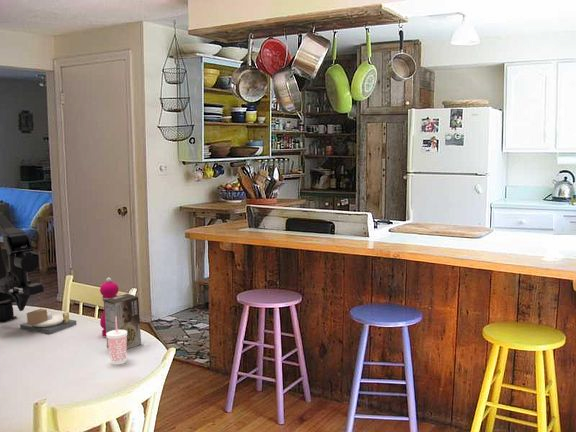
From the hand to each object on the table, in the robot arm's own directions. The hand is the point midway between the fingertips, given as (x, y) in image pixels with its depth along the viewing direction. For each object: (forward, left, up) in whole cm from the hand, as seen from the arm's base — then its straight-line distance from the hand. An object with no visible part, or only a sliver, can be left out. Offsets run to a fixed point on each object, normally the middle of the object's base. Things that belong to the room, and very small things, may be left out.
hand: (21, 310), depth 214 cm
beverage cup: (+54, -9, -7) cm, 55 cm away
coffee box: (+46, +2, -7) cm, 46 cm away
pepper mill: (+34, +9, -7) cm, 36 cm away
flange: (+6, +5, -5) cm, 9 cm away
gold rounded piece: (+12, +8, -5) cm, 16 cm away
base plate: (+6, +6, -7) cm, 11 cm away
